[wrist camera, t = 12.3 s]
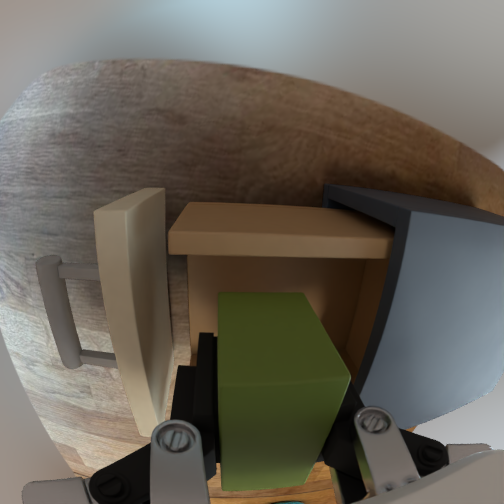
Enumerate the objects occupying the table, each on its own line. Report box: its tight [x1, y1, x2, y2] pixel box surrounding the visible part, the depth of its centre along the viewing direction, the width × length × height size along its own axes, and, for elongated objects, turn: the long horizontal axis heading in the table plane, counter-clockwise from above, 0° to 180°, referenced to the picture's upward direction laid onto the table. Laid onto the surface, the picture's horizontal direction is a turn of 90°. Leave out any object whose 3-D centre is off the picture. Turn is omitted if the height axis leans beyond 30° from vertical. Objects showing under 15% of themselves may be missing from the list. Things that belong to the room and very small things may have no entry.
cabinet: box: [322, 184, 504, 430], centre depth 15 cm, size 15×13×9 cm
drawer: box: [36, 188, 395, 437], centre depth 14 cm, size 18×11×7 cm, turn 86°
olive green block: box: [217, 292, 351, 491], centre depth 9 cm, size 6×3×4 cm, turn 176°
